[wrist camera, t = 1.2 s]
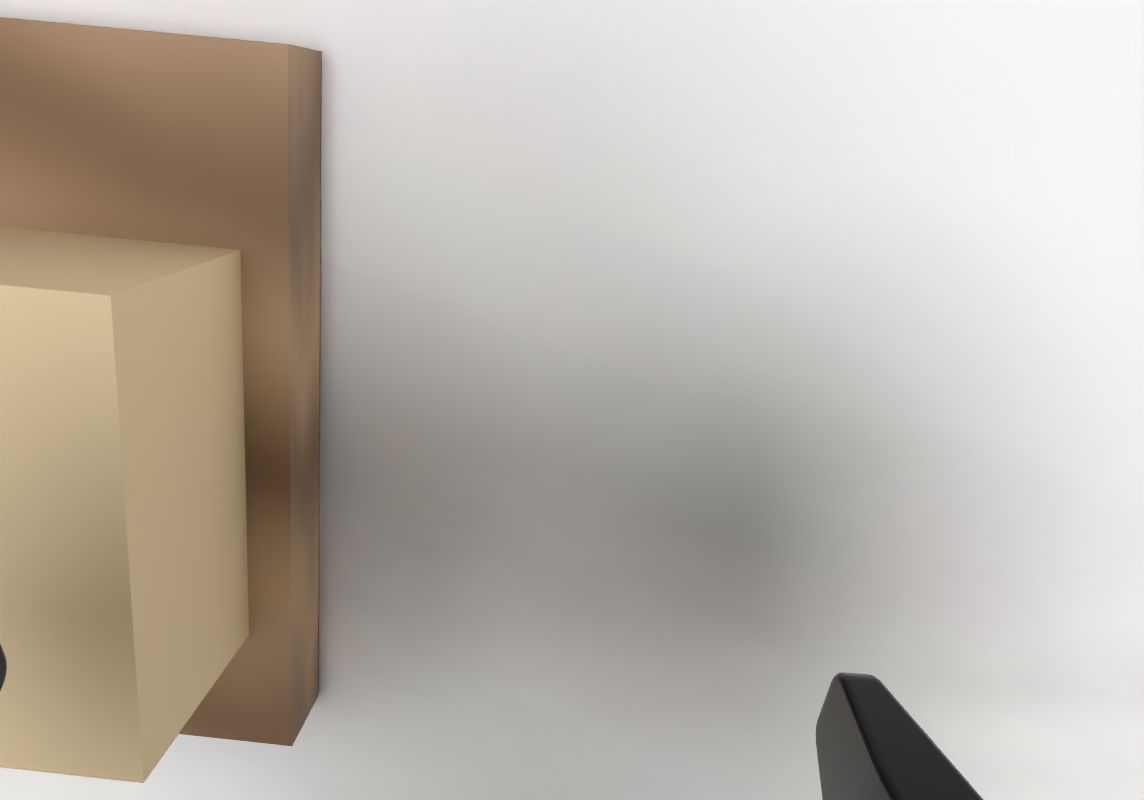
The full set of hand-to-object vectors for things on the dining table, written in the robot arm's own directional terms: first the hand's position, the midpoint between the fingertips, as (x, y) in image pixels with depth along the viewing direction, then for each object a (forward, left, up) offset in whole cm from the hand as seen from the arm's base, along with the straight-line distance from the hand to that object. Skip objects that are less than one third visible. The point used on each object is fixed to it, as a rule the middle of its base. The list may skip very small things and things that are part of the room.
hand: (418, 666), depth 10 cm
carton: (-2, +10, -10) cm, 14 cm away
